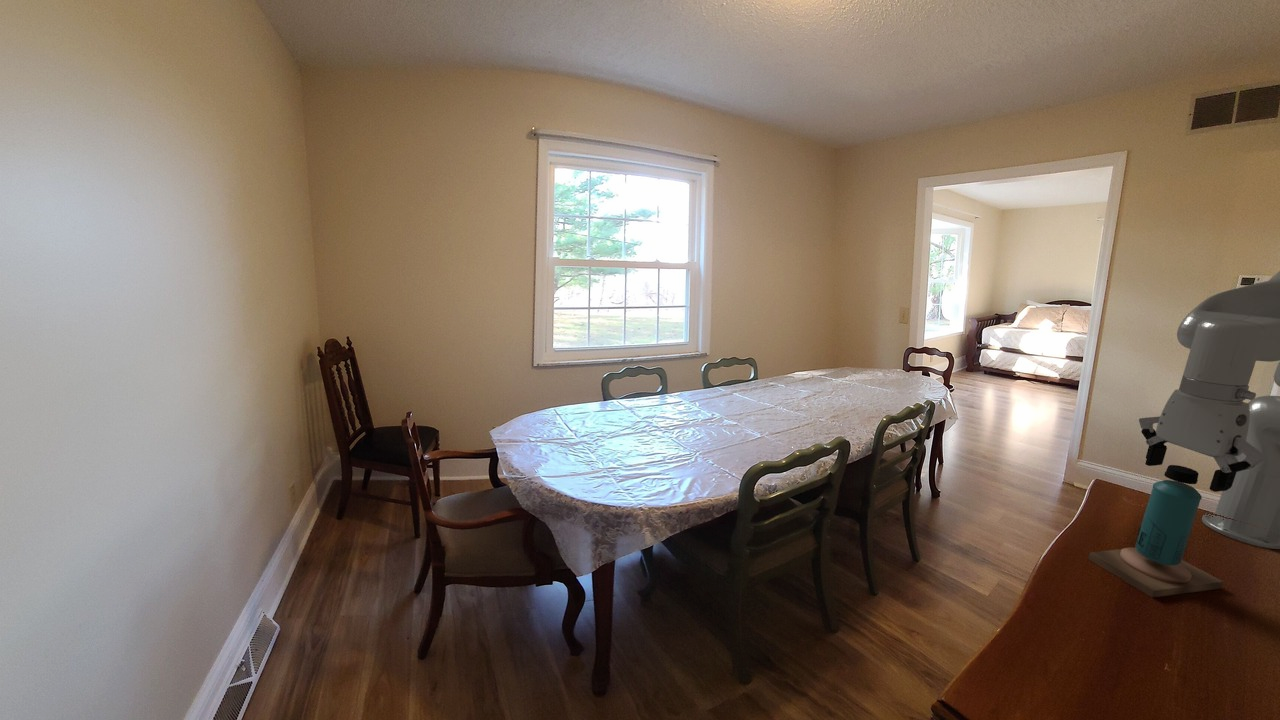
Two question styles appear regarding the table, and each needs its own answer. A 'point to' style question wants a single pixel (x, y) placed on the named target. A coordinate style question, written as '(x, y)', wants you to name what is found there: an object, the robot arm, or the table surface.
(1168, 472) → the beverage bottle
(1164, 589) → the rectangular slab with oval
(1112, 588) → the table surface
